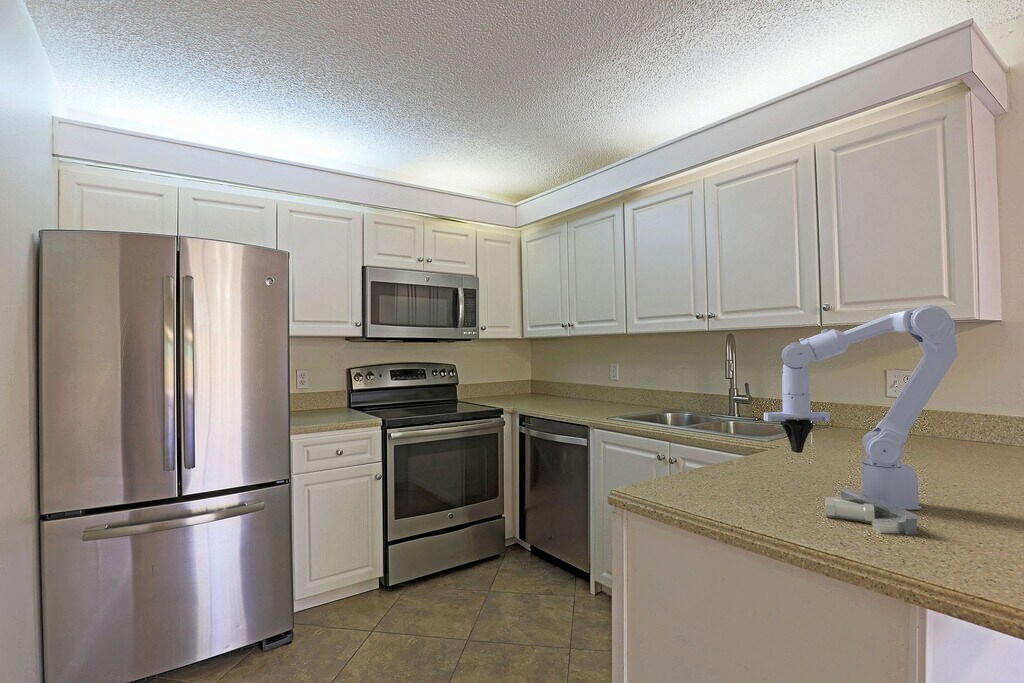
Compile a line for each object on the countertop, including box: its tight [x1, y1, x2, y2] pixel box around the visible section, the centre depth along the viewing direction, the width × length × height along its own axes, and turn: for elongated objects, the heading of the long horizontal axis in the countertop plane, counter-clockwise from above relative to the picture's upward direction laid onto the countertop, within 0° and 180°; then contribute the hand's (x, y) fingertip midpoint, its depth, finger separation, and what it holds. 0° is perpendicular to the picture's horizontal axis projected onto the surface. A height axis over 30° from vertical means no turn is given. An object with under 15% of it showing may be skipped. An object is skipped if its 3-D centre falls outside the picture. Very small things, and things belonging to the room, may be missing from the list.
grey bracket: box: [825, 488, 921, 536], centre depth 100 cm, size 7×18×4 cm, turn 0°
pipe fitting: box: [824, 497, 875, 525], centre depth 101 cm, size 8×4×7 cm
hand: (797, 451), depth 117 cm, fingers closed
